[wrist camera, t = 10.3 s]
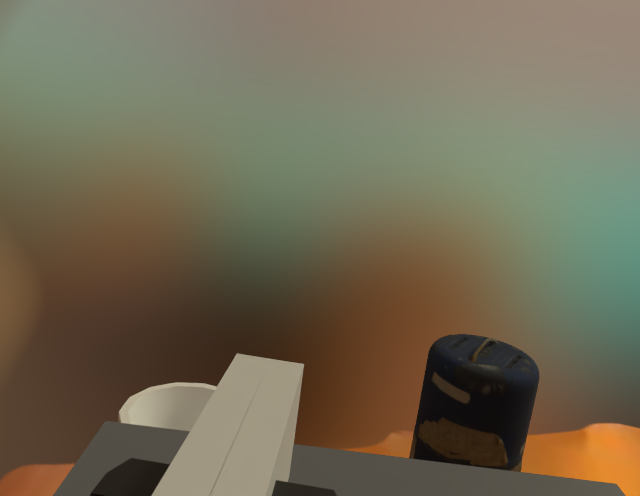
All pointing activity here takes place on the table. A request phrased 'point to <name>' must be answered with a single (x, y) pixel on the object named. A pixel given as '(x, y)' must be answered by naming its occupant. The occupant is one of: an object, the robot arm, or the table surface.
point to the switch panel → (329, 469)
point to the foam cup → (167, 406)
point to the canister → (475, 403)
